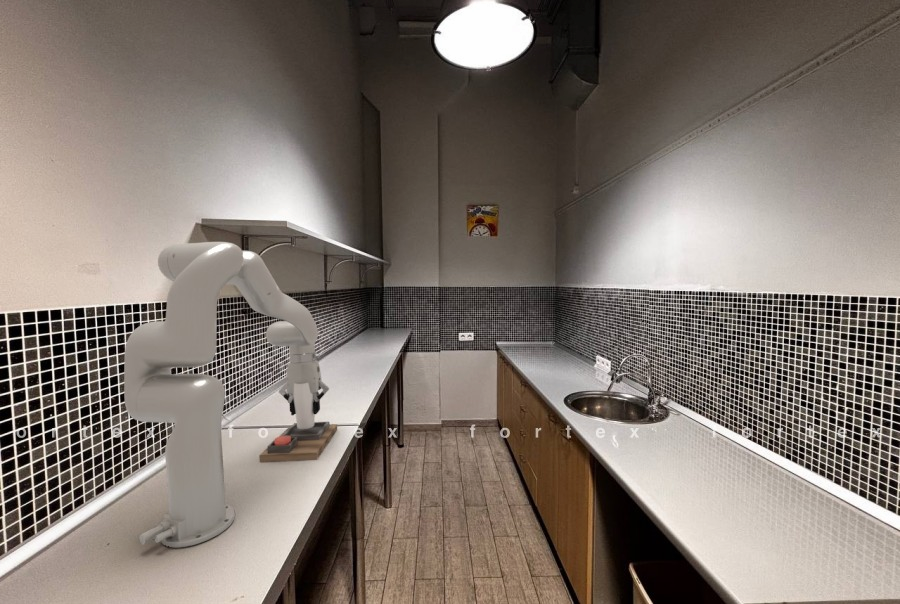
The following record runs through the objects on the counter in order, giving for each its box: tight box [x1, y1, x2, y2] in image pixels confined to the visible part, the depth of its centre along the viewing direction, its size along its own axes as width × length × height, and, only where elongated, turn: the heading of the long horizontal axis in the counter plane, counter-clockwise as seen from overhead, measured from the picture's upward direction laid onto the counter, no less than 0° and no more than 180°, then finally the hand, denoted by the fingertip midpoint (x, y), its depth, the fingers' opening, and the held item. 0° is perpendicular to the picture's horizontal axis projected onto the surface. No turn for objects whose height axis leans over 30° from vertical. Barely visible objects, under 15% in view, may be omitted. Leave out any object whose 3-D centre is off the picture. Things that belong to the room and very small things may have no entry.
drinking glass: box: [293, 383, 316, 430], centre depth 121 cm, size 7×7×15 cm
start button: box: [273, 435, 291, 446], centre depth 110 cm, size 4×4×2 cm
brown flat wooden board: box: [258, 421, 338, 463], centre depth 117 cm, size 22×16×4 cm
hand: (305, 413), depth 121 cm, fingers closed on drinking glass, 6 cm apart
